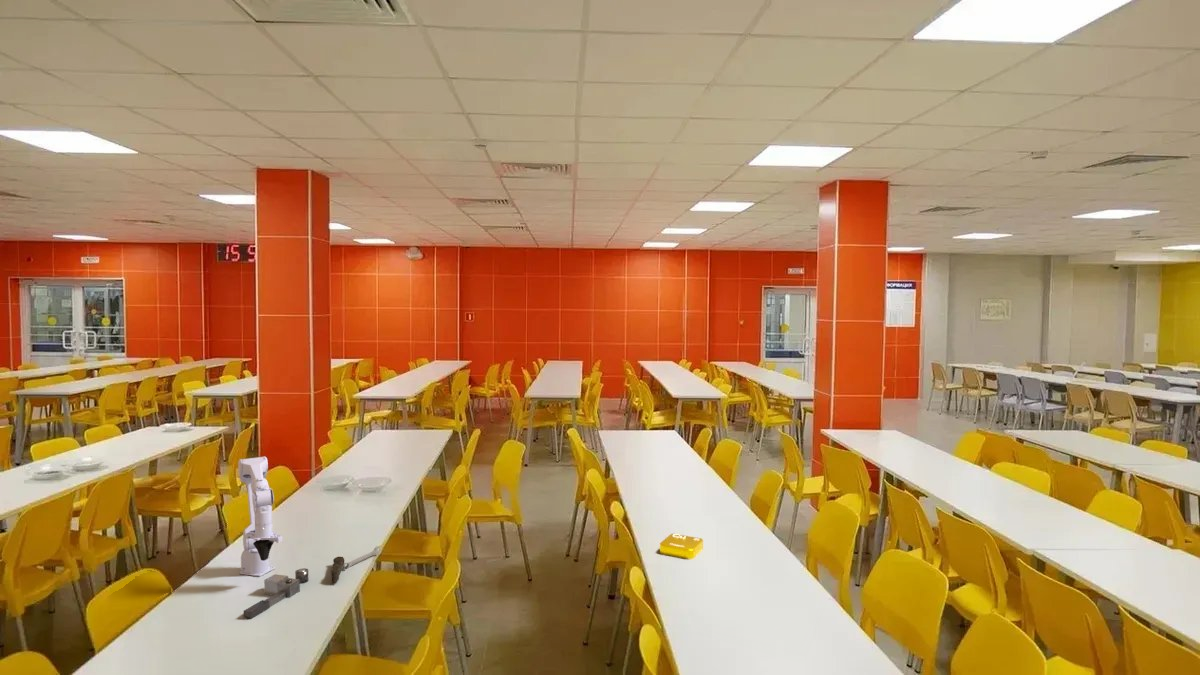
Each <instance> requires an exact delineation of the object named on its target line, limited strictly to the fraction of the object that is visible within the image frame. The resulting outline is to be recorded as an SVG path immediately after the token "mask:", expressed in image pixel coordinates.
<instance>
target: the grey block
mask: <svg viewBox="0 0 1200 675" xmlns="http://www.w3.org/2000/svg"><path fill="white" fill-rule="evenodd" d="M287 578H289V576H288V575H284V574H277V573H275V574H273V575H271V576H269V577H267V578H266V579H264V581H263V582H264V595H268V596H273V595H275V594H276V593H278V583H280V582H282V581H283V580H285V579H287Z"/></svg>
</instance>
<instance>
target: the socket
mask: <svg viewBox="0 0 1200 675" xmlns="http://www.w3.org/2000/svg"><path fill="white" fill-rule="evenodd" d="M294 575H295V576H294V579H300V585H301V584H303V585H304V584H305V583H308V582H309V569H308V568H299V569H296V570H295V574H294Z"/></svg>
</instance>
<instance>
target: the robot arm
mask: <svg viewBox="0 0 1200 675" xmlns="http://www.w3.org/2000/svg"><path fill="white" fill-rule="evenodd" d="M268 461H269V460H268V458H267V457H266V456H265V455H264V456H260V457H250V458H240V459H239V460H238V461H237V462H238V464H237V465H238V466H237V468H238V476H239V477H238V478H239V481H240V482H242V483H244V484H245V487H246V489H247V500H248V501H247V502H248V511H249V522H250V524H249V525H248V526H247V527H245V528H244V529H243V531H242V532H243V533H242V535H243V537H242V546H243V551H242V553H241V556H240V568H241V570H240V572H239V575H247V576H254V577H262V576H264V575H266V574H267V573H269V572H271V571H273V570H274V569H276V567H275V566H270V551H271V549H272V546H273V545H274V543H276V544H279V543H281V542H283V535H279V534H277V533H274V532H273V529H274V528H273V505H274V501H275V496H274V492H273V488H271V487H270V486H269V482H268V480H267V475H268V469H269V463H268Z"/></svg>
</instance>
